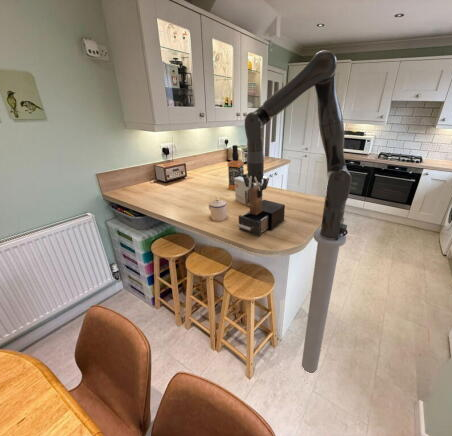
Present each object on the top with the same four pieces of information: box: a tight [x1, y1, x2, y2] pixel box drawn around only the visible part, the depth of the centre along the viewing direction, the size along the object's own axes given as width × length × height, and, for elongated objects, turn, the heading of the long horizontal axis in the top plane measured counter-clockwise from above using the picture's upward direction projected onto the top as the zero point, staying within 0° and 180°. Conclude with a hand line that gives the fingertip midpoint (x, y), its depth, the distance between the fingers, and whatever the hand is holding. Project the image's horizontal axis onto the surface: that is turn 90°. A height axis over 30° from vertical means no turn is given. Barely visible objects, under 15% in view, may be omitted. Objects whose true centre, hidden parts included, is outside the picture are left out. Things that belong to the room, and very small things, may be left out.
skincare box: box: [234, 176, 264, 207], centre depth 148 cm, size 21×6×16 cm, turn 45°
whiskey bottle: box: [227, 144, 245, 191], centre depth 172 cm, size 10×10×32 cm
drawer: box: [237, 210, 271, 238], centre depth 116 cm, size 16×12×8 cm
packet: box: [249, 186, 263, 215], centre depth 113 cm, size 4×5×13 cm
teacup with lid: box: [208, 197, 228, 222], centre depth 131 cm, size 12×9×12 cm
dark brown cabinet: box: [262, 199, 286, 231], centre depth 126 cm, size 14×14×10 cm
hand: (255, 196), depth 112 cm, fingers closed on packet, 4 cm apart
